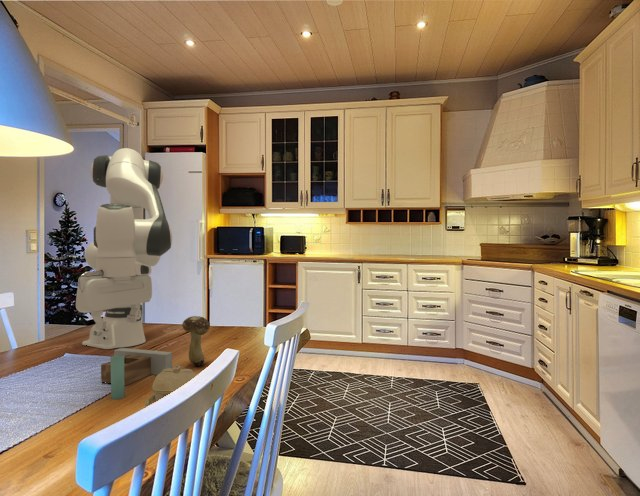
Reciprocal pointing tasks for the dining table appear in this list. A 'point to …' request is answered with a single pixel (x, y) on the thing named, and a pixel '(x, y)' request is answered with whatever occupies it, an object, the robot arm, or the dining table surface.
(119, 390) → the green rectangular block
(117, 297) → the robot arm
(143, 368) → the open box
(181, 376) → the ceramic model
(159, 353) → the wall
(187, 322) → the mushroom
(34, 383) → the dining table surface
